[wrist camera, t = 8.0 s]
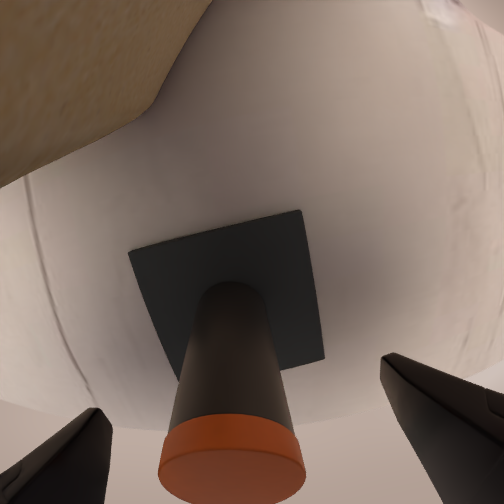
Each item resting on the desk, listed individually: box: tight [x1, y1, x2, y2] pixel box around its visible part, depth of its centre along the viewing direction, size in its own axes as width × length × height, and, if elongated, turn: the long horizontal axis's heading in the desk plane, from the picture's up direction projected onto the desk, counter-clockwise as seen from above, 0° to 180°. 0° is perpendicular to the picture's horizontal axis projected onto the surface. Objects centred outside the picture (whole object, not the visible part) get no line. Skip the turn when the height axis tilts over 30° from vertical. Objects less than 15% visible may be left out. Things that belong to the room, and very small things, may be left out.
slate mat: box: [128, 210, 325, 382], centre depth 14 cm, size 8×8×1 cm
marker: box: [158, 282, 306, 504], centre depth 9 cm, size 3×3×9 cm
